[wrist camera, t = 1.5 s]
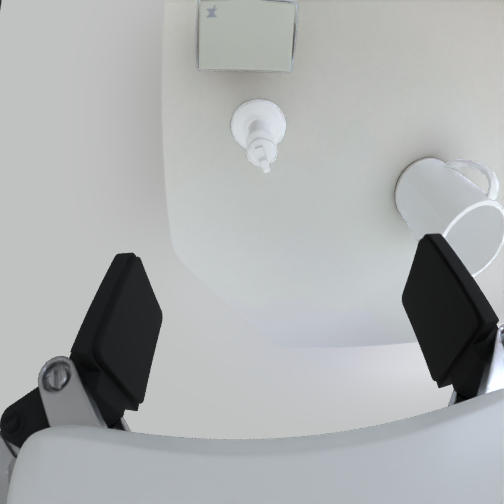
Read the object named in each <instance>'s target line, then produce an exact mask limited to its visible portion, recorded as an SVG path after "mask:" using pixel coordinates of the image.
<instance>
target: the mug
mask: <svg viewBox="0 0 504 504" xmlns="http://www.w3.org/2000/svg"><path fill="white" fill-rule="evenodd" d="M456 167H469V168H472V169H475V170H477V171H480V172H481V173H482V174H484V175H485V176H486V178H487V179H488V184H489V188H488V193H485V192H484V191H483V190H482V189H480V188H479V187H478V186H476V185H475V184H474V183H472V182H471V181H470V180H468V179H467V178H465V177H464V176H463V175H461V174H460V173H458V172H457V171H456V170H454V168H456ZM498 190H499V184H498V179H497V177H496V175H495V173H494V172H493V171H492V170H491V169H489V168H488V167H486V166H485V165H483V164H481V163H478V162H475V161H472V160H465V159H452V160H450V161H448V162H446V163H444V162H442V161H441V160H439V159H435V158H423V159H420V160H418V161H415V162H413V163H412V164H411V165H410V166H408V167H407V168H406V169H405V171H404V172H403V173H402V174H401V176H400V178H399V180H398V182H397V186H396V190H395V203H396V206H397V209H398V211H399V212H400V214H401V215H402V217H403V218H404V220H405V221H406V223H407V225H408V226H409V228H410V229H411V231H412V233H413V234H414V236H415V237H416V239H417V241H418V242H419V240H420V239H422V238H423V236H424V235H425V234H434V233H440V234H441V235H442V236H443V237H444V238H445V239H446V241H447V242H448V243H449V245H450V246H451V247H452V249H453V250H454V251H455V253H456V254H457V256H458V257H459V258H460V260H461V261H462V263H463V264H464V265H465V267H466V268H467V270H468V271H469V273H470V274H471V276H472V277H474V276H476V275H478V274H479V273H480V272H482V271H483V270H484V269H485V268H486V267H487V266H488V265H489V264H490V263H491V262H492V261H493V260H494V258H495V257H496V256H497V254H498V253H499V251H500V249H501V247H502V245H503V243H504V209H503V207H502V206H501V205H500V204H499V203H498V202H497V201H495V199H496V197H497V194H498Z"/></svg>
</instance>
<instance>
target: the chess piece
mask: <svg viewBox="0 0 504 504" xmlns="http://www.w3.org/2000/svg"><path fill="white" fill-rule="evenodd" d="M285 130H286V120H285V116H284V114H283V112H282V111H281V109H280V108H279V107H278V106H277V105H275V104H274V103H272V102H270V101H267V100H263V99H254V100H249V101H247V102H245V103H243V104H241V105H240V106H239V107H238V108H237V109H236V110H235V112H234V114H233V116H232V119H231V131H232V134H233V136H234V138H235V140H236V141H237V142H238V144H240V145H241V146H242V147H244V148H245V149H247V158H248V160H249V161H250V162H251V163H252V164H253V165H255V166H258V167H261V168H262V169H263V171H264V173H267V172H270V171H271V169H270V166H269V165H271V164H272V163H273V162H274V161H275V159H276V157H277V148H276V145H278V144H279V143H280V141H281V140H282V138H283V137H284V134H285Z"/></svg>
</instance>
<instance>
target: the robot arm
mask: <svg viewBox="0 0 504 504" xmlns="http://www.w3.org/2000/svg"><path fill="white" fill-rule="evenodd" d="M402 303H403V306H404V308H405V311H406V313H407V315H408V318H409V320H410V322H411V325H412V327H413V330H414V332H415V335H416V337H417V340H418V342H419V345H420V347H421V350H422V352H423V355H424V358H425V360H426V363H427V366H428V369H429V371H430V374H431V377H432V379H433V380H434V381H436V382H437V385H438V388H441V387H445V386H448V385H451V384H452V385H453V388H454V390H453V393H452V396H451V399H450V402H449V405H448V407H445V408H442V409H438V410H435V411H432V412H428V413H425V414H421V415H418V416H414V417H410V418H407V419H403V420H398V421H394V422H390V423H386V424H381V425H376V426H371V427H366V428H360V429H354V430H349V431H342V432H336V433H328V434H320V435H311V436H301V437H291V438H290V437H289V438H275V439H274V438H273V439H199V438H184V437H172V436H161V435H152V434H144V433H135V432H131V430H130V429H129V427H128V425H127V423H126V421H125V420H124V418H123V415H124V411H125V410H133V411H138V406H139V403H140V404H141V403H142V402H143V401H144V397H145V392H146V387H147V382H148V378H149V374H150V368H151V365H152V360H153V356H154V352H155V348H156V343H157V340H158V335H159V332H160V327H161V324H162V311H161V309H160V306H159V304H158V301H157V299H156V297H155V294H154V292H153V289H152V287H151V285H150V282H149V279H148V277H147V274H146V272H145V269H144V267H143V264H142V261H141V259H140V258H139V257H136V255H135V254H134V253H122V254H117V255H116V256H115V258H114V260H113V261H112V263H111V265H110V267H109V269H108V271H107V273H106V275H105V277H104V279H103V281H102V283H101V285H100V287H99V289H98V291H97V293H96V295H95V297H94V300H93V301H92V303H91V305H90V308H89V310H88V312H87V314H86V316H85V318H84V321H83V323H82V325H81V328H80V330H79V332H78V335H77V337H76V339H75V342H74V344H73V346H72V349H71V355H70V357H69V358H68V357H64V356H57V357H54V358H52V359H50V360H49V361H48V362H46V364H45V365H44V366H43V367H42V369H41V371H40V373H39V377H38V387H37V388H36V389H34V390H33V391H31V392H30V393H28V394H27V395H25V396H24V397H22V398H21V399H19V400H18V401H16V402H15V403H14V404H12V405H10V406H9V407H8V408H7V409H6V410H5V411H4V413H3V415H2V417H1V420H0V429H1V431H0V504H504V324H503V325H501V326H500V327H499V328H498V327H497V325H496V324H497V323H498V321H499V319H498V317H497V316H496V314H495V312H494V310H493V309H492V307H491V305H490V304H489V302H488V300H487V299H486V297H485V296H484V294H483V292H482V291H481V289H480V288H479V286H478V285H477V283H476V282H475V280H474V279H473V277H472V276H471V274H470V273H469V271H468V270H467V268H466V267H465V265H464V264H463V263H462V261H461V260H460V258H459V257H458V256H457V254H456V253H455V251H454V250H453V249H452V247H451V246H450V245H449V243H448V242H447V241H446V239H445V238H444V237H443V236H442V235H441V234H440V233H434V234H425V235H424V236H423V238H422V239H420V240H419V243H418V247H417V250H416V254H415V257H414V260H413V264H412V267H411V270H410V273H409V276H408V279H407V282H406V285H405V288H404V291H403V294H402Z"/></svg>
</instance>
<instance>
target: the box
mask: <svg viewBox="0 0 504 504" xmlns="http://www.w3.org/2000/svg"><path fill="white" fill-rule="evenodd" d="M298 7H299V5H298V3H297V2H295V1H292V0H198V5H197V22H196V58H197V69H198V70H200V71H244V72H274V73H291V72H292V70H293V62H294V53H295V45H296V34H297V22H298Z"/></svg>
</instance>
